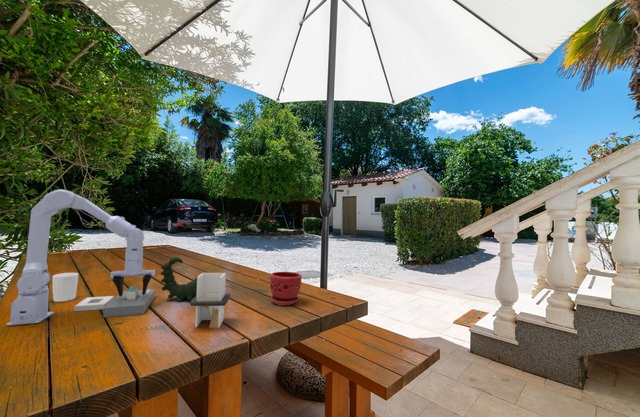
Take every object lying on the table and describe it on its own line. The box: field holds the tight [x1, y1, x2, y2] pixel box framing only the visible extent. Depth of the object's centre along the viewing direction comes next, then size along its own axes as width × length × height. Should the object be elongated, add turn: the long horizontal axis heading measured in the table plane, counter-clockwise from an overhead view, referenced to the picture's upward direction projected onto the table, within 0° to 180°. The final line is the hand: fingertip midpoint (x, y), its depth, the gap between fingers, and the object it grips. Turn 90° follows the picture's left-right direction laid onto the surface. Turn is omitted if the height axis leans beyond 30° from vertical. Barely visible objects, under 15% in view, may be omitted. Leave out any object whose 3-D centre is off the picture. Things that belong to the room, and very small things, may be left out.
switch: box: [102, 288, 156, 318], centre depth 110 cm, size 22×12×4 cm, turn 21°
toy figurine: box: [160, 256, 198, 302], centre depth 119 cm, size 9×19×25 cm
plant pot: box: [269, 271, 302, 306], centre depth 120 cm, size 13×13×12 cm
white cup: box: [52, 272, 79, 303], centre depth 115 cm, size 8×8×10 cm
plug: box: [127, 285, 139, 300], centre depth 110 cm, size 4×3×7 cm, turn 21°
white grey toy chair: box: [189, 272, 231, 328], centre depth 95 cm, size 25×24×16 cm
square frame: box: [73, 295, 115, 312], centre depth 109 cm, size 11×9×2 cm
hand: (132, 294), depth 110 cm, fingers open, 7 cm apart
